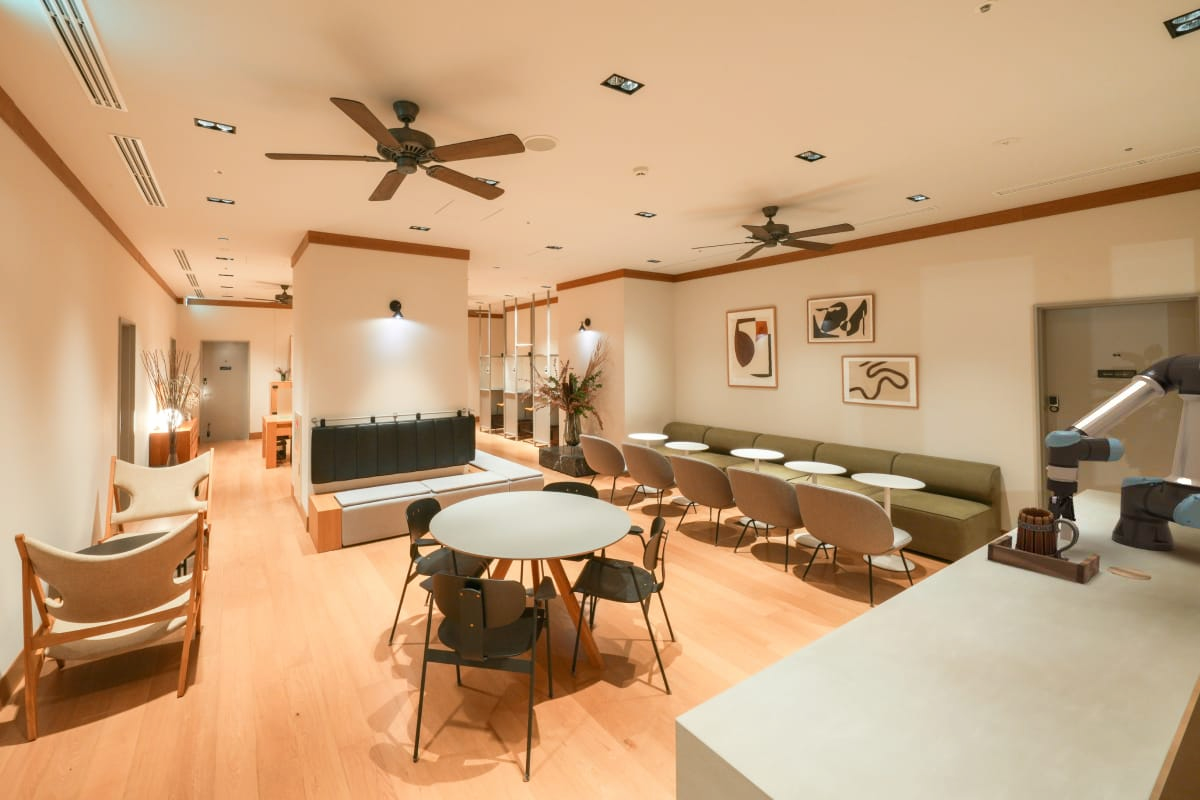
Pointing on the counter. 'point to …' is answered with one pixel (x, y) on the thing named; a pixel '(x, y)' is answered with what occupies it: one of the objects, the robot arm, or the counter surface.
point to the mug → (1042, 533)
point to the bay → (1042, 562)
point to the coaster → (1129, 573)
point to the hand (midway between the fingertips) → (1058, 544)
